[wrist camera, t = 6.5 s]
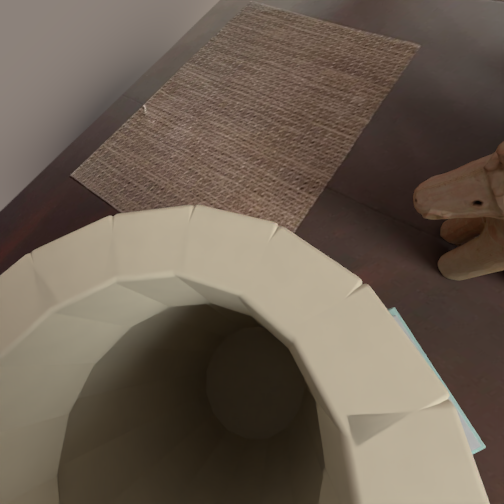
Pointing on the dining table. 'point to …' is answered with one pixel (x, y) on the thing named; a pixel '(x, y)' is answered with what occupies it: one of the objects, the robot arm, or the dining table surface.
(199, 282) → the jar
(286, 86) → the dining table surface
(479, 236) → the figurine
